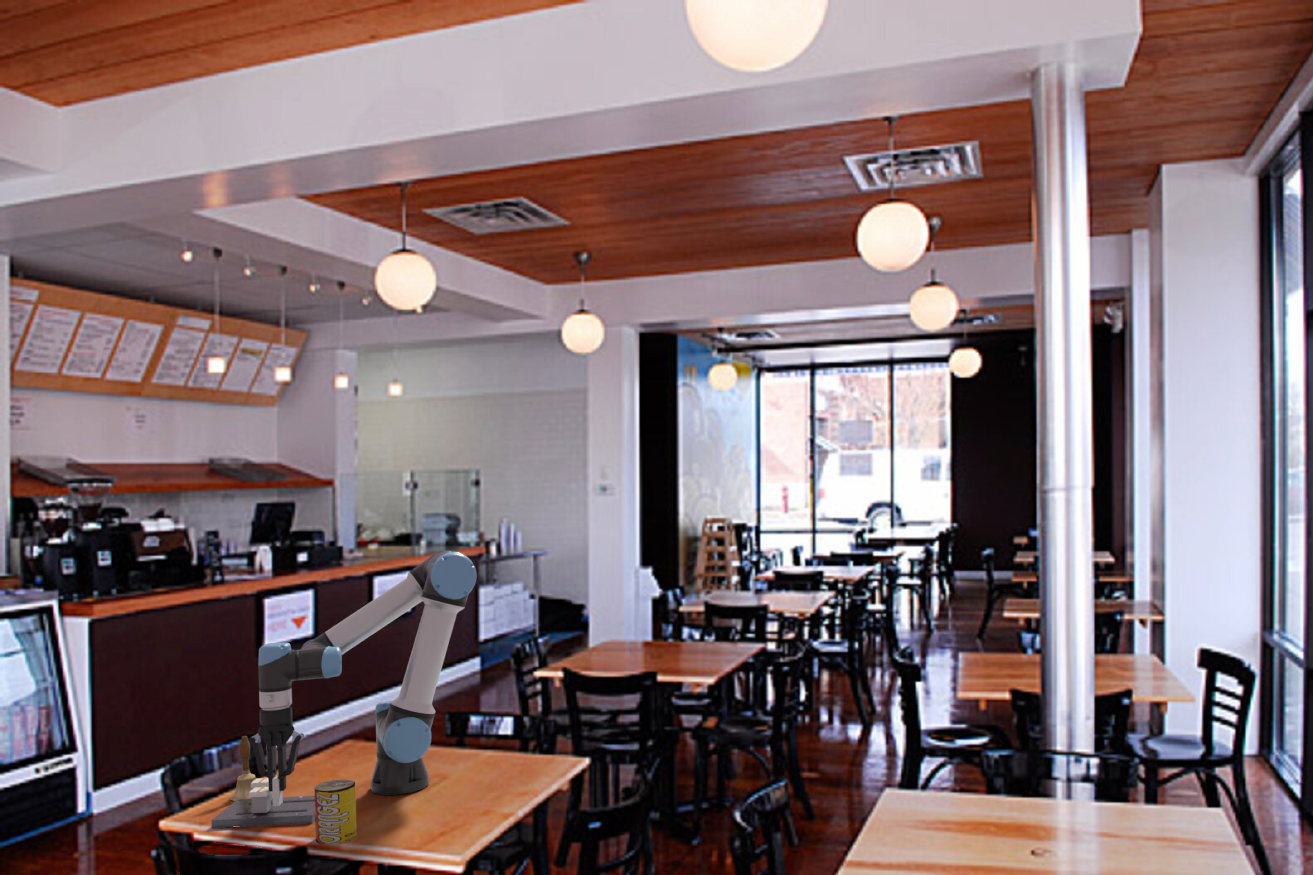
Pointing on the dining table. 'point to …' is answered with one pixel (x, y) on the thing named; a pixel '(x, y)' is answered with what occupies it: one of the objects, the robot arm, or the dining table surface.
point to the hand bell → (244, 773)
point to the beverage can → (335, 811)
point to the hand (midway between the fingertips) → (277, 804)
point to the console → (284, 814)
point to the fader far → (260, 783)
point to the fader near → (260, 799)
